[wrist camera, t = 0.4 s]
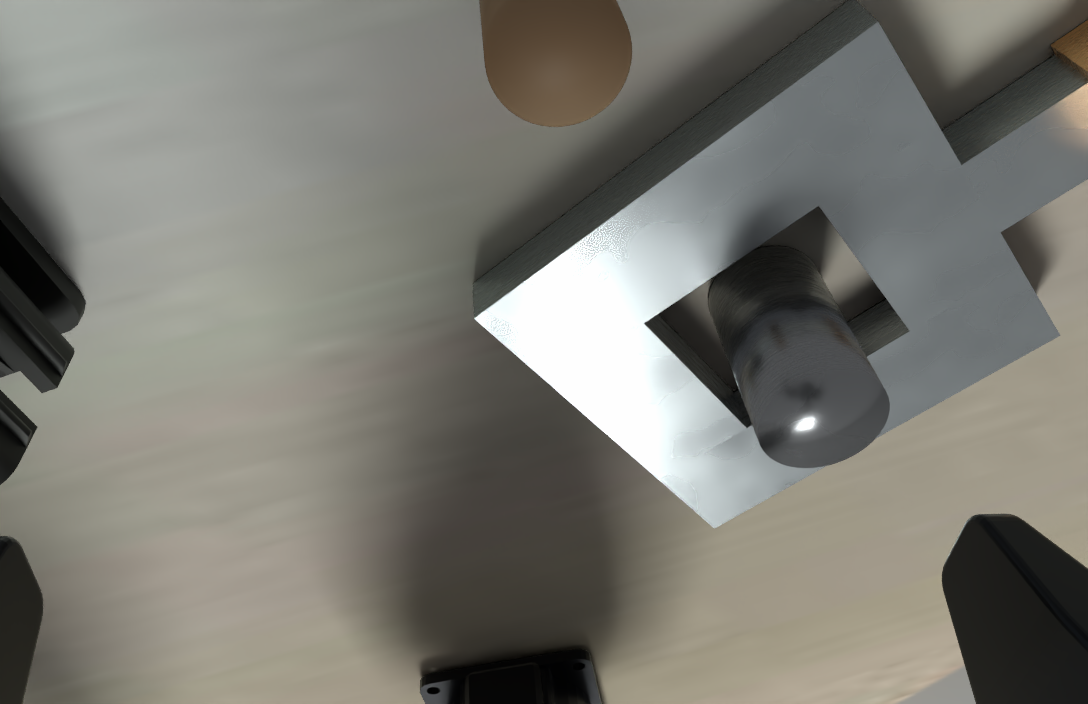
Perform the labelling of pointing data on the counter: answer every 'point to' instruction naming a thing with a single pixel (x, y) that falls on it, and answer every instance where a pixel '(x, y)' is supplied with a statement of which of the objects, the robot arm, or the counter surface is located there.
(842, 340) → the post
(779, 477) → the flange plate
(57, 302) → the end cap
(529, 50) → the dowel
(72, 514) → the counter surface
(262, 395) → the counter surface
